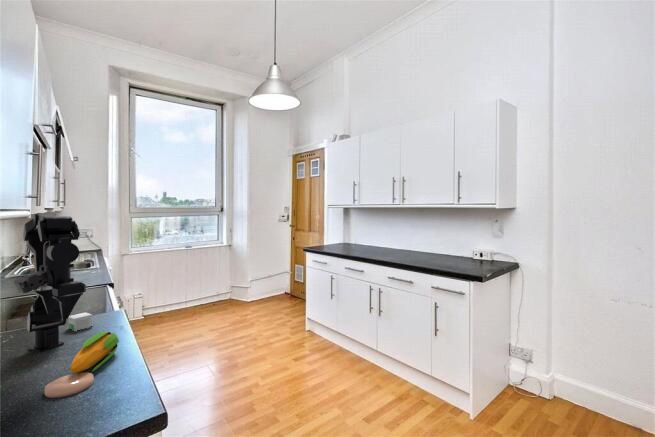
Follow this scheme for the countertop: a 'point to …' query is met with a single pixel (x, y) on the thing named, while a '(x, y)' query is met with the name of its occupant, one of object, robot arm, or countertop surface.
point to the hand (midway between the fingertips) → (57, 316)
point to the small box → (80, 321)
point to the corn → (95, 351)
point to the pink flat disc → (68, 385)
